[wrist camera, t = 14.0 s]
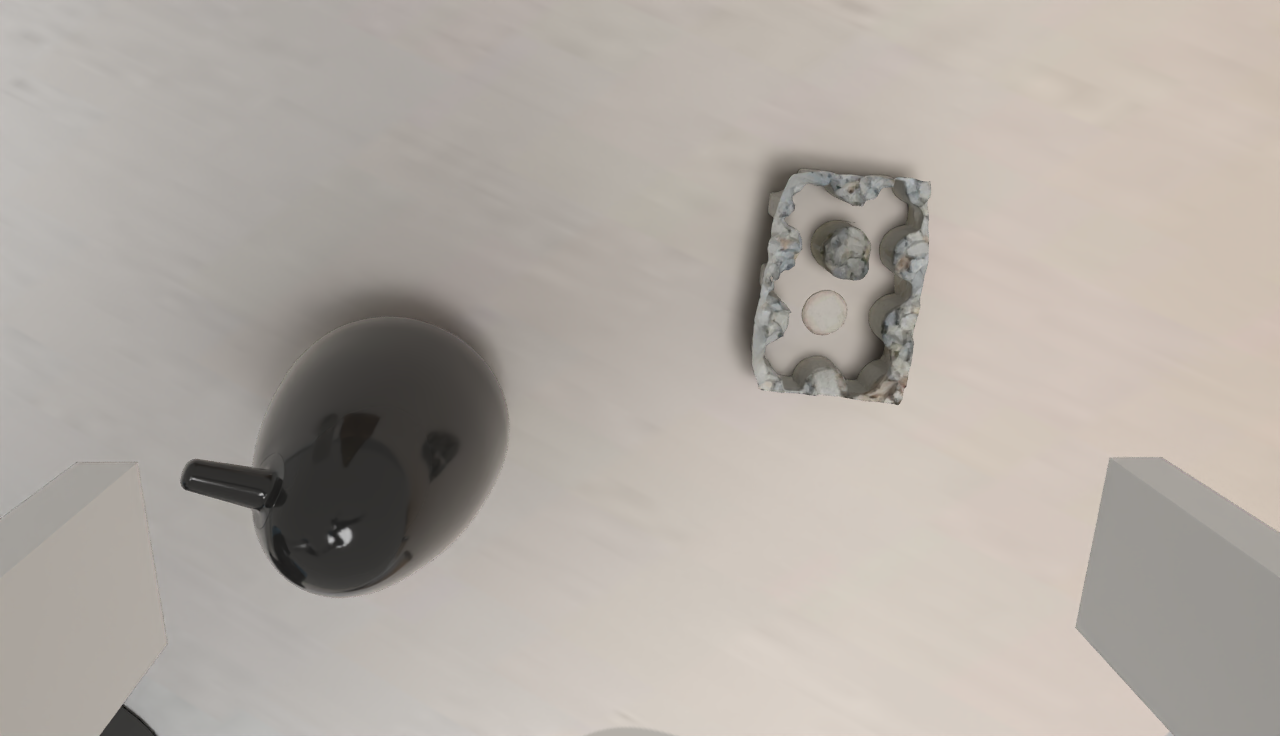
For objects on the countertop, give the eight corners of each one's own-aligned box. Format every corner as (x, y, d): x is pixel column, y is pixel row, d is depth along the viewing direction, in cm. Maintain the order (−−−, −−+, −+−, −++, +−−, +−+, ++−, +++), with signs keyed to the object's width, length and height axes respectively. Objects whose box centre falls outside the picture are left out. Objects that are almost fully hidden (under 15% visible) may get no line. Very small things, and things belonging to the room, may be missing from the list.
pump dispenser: (354, 255, 41) (224, 351, 26) (552, 357, 43) (531, 498, 28) (269, 434, 43) (108, 610, 29) (460, 522, 45) (398, 728, 31)
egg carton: (876, 388, 45) (903, 417, 41) (731, 371, 44) (745, 400, 40) (926, 176, 41) (961, 187, 37) (771, 154, 41) (790, 163, 37)
